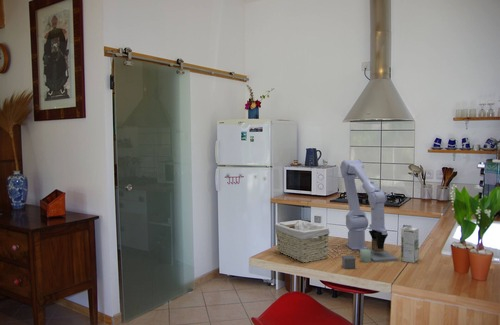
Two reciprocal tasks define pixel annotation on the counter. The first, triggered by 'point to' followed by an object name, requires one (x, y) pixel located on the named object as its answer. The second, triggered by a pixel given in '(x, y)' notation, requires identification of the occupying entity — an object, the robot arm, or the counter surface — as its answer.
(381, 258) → the slate mat
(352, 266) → the charcoal cube
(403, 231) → the syrup box
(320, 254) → the storage basket
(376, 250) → the walnut block
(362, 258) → the sage cylinder
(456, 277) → the counter surface
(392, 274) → the counter surface
